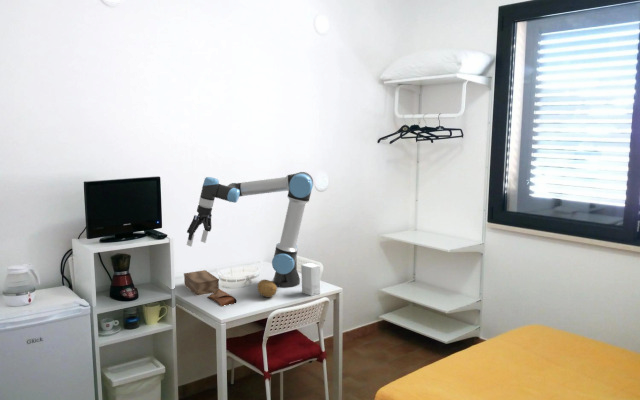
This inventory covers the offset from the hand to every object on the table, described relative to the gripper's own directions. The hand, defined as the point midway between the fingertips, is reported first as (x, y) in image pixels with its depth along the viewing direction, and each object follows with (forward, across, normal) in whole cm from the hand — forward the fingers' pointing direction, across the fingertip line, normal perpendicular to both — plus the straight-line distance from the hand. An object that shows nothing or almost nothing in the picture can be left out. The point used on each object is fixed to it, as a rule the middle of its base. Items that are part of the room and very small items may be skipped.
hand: (196, 243), depth 268 cm
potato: (+15, -5, +45) cm, 47 cm away
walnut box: (+24, -4, +7) cm, 26 cm away
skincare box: (+9, -17, +64) cm, 67 cm away
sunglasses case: (+21, +9, +26) cm, 35 cm away
